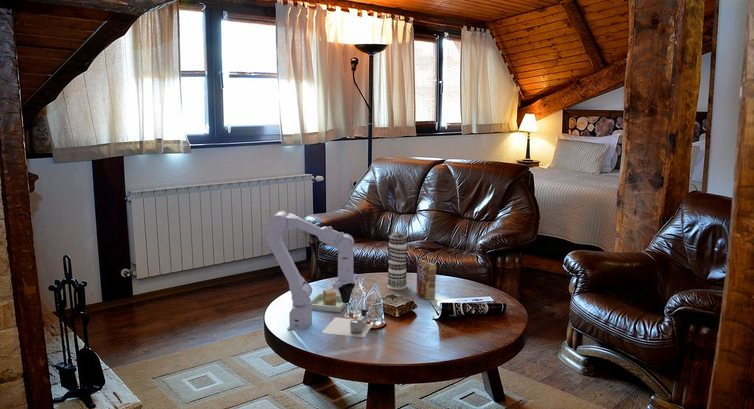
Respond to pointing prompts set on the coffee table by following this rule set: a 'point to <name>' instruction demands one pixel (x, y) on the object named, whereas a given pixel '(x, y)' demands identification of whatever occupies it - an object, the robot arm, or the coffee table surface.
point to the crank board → (344, 328)
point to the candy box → (426, 279)
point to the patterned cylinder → (397, 261)
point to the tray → (318, 305)
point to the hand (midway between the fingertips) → (345, 302)
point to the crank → (358, 322)
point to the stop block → (329, 297)
